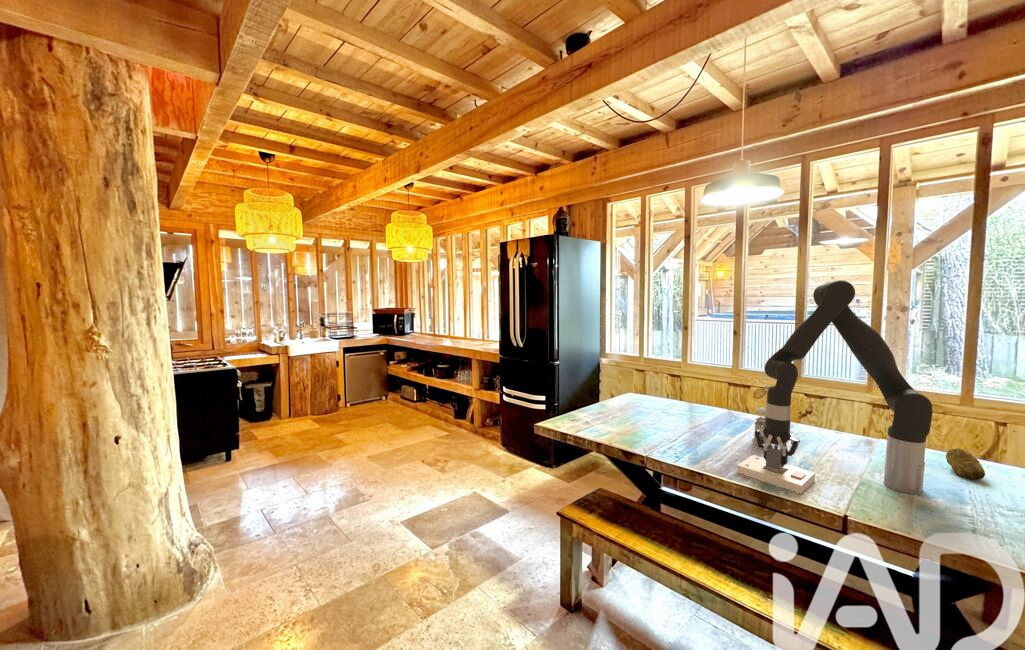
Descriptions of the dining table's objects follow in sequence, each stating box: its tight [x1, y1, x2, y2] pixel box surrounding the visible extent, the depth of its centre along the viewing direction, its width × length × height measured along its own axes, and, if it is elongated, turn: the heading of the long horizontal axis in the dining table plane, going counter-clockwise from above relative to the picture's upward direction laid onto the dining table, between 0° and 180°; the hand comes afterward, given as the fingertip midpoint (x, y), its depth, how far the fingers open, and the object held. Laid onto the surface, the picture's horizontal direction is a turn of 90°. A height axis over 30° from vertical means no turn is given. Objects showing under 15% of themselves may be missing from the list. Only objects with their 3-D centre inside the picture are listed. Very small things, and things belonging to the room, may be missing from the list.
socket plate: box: [736, 454, 816, 495], centre depth 146 cm, size 20×14×4 cm
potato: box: [945, 448, 986, 481], centre depth 147 cm, size 8×13×8 cm, turn 143°
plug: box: [766, 444, 784, 471], centre depth 146 cm, size 4×4×9 cm
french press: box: [751, 385, 776, 445], centre depth 176 cm, size 10×12×25 cm
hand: (775, 462), depth 146 cm, fingers closed on plug, 4 cm apart
